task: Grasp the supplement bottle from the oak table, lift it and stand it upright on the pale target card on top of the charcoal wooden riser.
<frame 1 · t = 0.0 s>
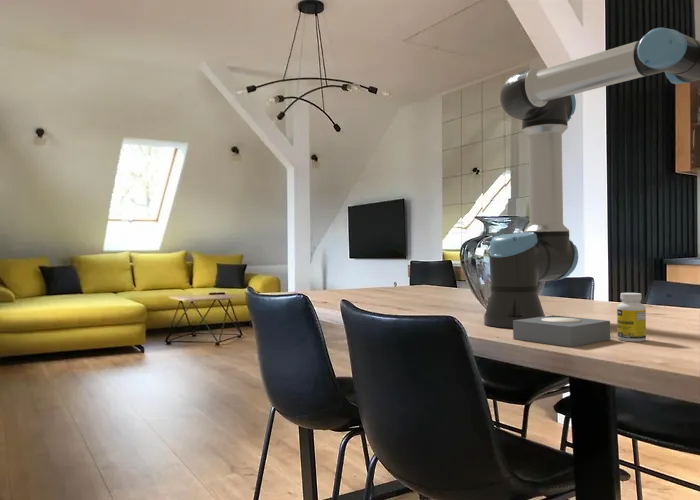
riser: (561, 339, 126), on the table
supplement bottle: (631, 341, 123), on the table
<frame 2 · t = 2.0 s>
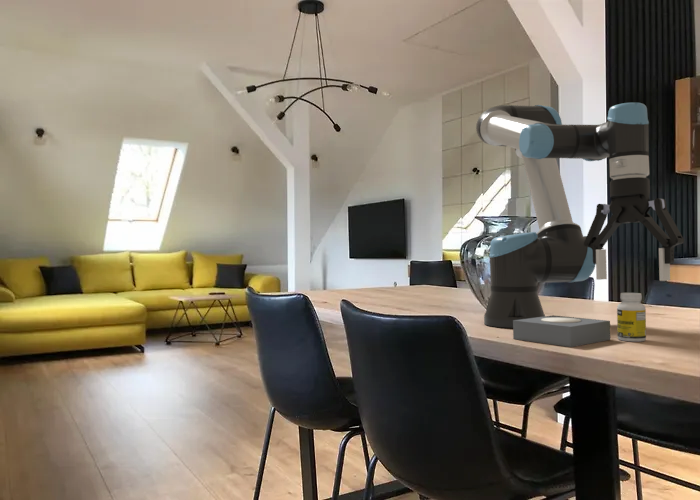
hand: (631, 280, 123), 13 cm above the table, tool pointing down, fingers open, 13 cm apart
nothing on the table moved.
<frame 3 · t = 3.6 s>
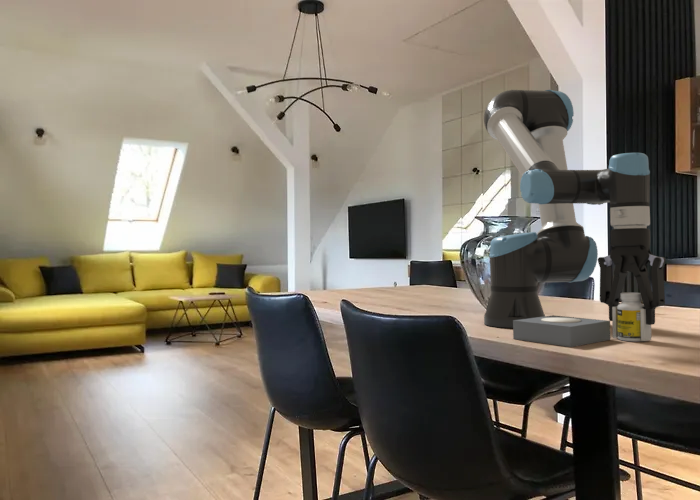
hand: (631, 338, 123), 0 cm above the table, tool pointing down, fingers closed on supplement bottle, 5 cm apart
supplement bottle: (631, 340, 123), on the table, touching gripper
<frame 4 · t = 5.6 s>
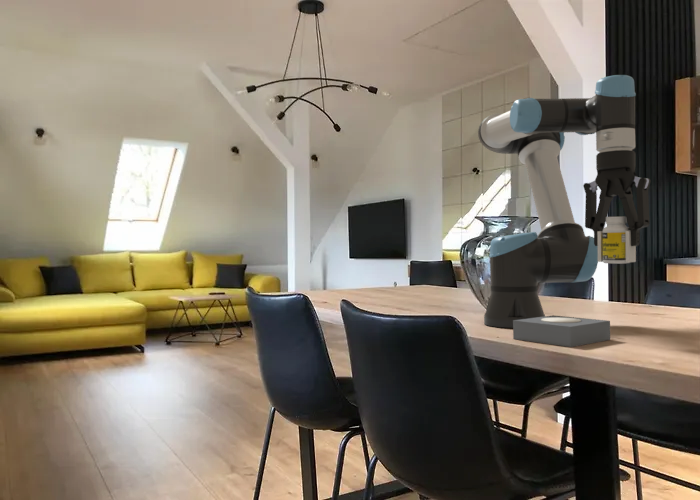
hand: (616, 261, 124), 16 cm above the table, tool pointing down, fingers closed on supplement bottle, 5 cm apart
supplement bottle: (616, 264, 124), point 16 cm above the table, touching gripper
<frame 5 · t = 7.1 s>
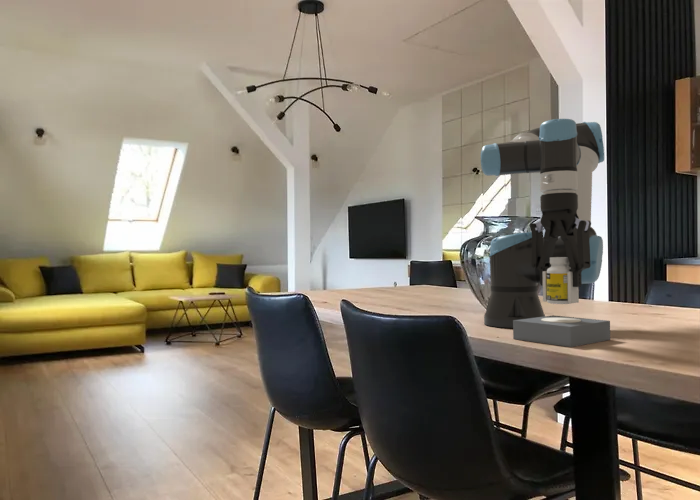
hand: (560, 301, 126), 8 cm above the table, tool pointing down, fingers closed on supplement bottle, 5 cm apart
supplement bottle: (560, 304, 126), point 8 cm above the table, touching gripper
when the fingers open (5 cm above the table, at t = 7.9 s): supplement bottle stays where it is, resting on riser.
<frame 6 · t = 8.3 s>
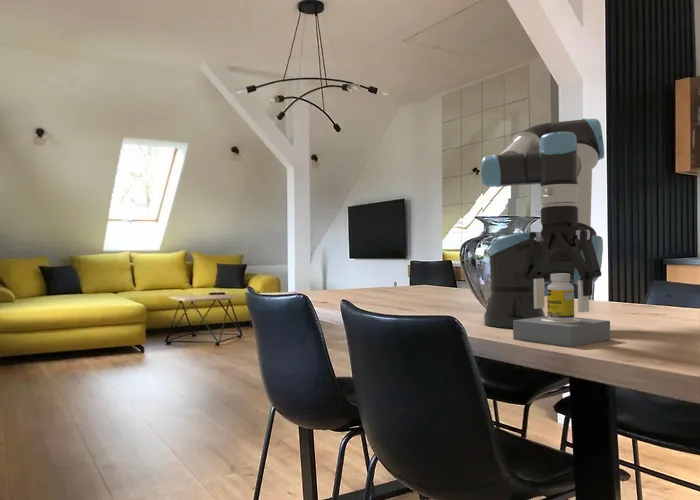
hand: (560, 309, 126), 6 cm above the table, tool pointing down, fingers open, 10 cm apart
supplement bottle: (560, 320, 126), point 4 cm above the table, touching riser
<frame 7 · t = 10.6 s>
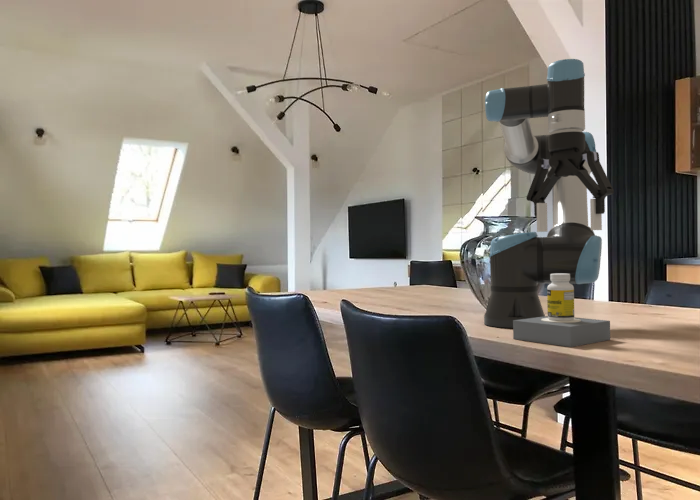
hand: (568, 231, 128), 23 cm above the table, tool pointing down, fingers open, 13 cm apart
nothing on the table moved.
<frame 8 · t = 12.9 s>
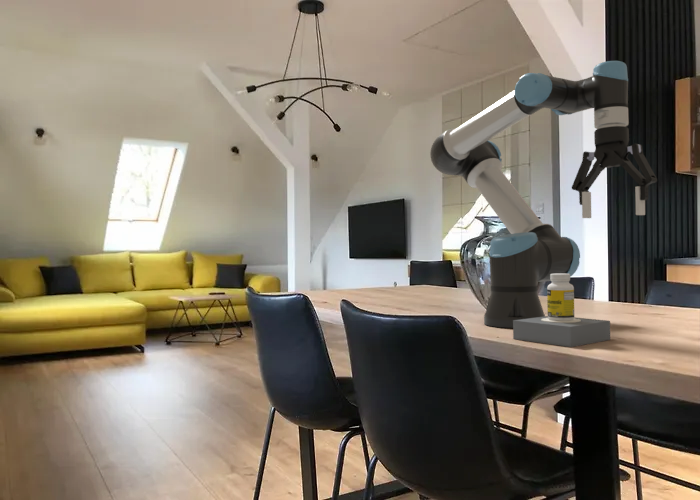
hand: (612, 216, 141), 27 cm above the table, tool pointing down, fingers open, 13 cm apart
nothing on the table moved.
at the end: supplement bottle inside the target area on the riser (0.0 cm from its centre), point 4.0 cm above the riser's base; supplement bottle tilted 0°; the gripper is holding nothing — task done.
